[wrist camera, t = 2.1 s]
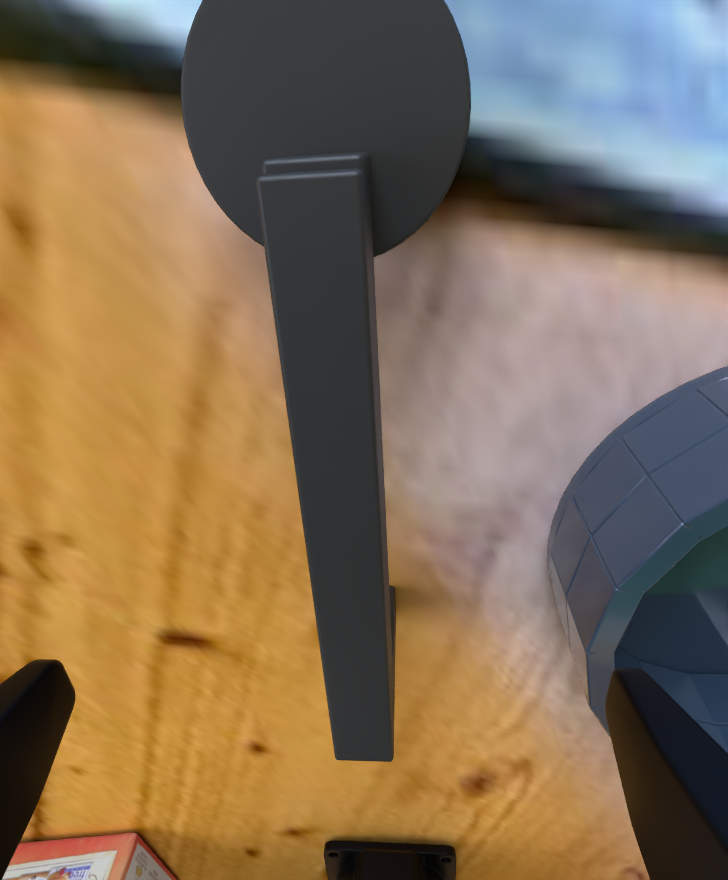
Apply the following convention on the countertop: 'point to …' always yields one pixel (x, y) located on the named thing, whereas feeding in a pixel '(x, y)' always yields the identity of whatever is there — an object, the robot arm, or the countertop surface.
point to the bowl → (652, 554)
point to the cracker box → (87, 860)
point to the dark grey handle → (332, 266)
